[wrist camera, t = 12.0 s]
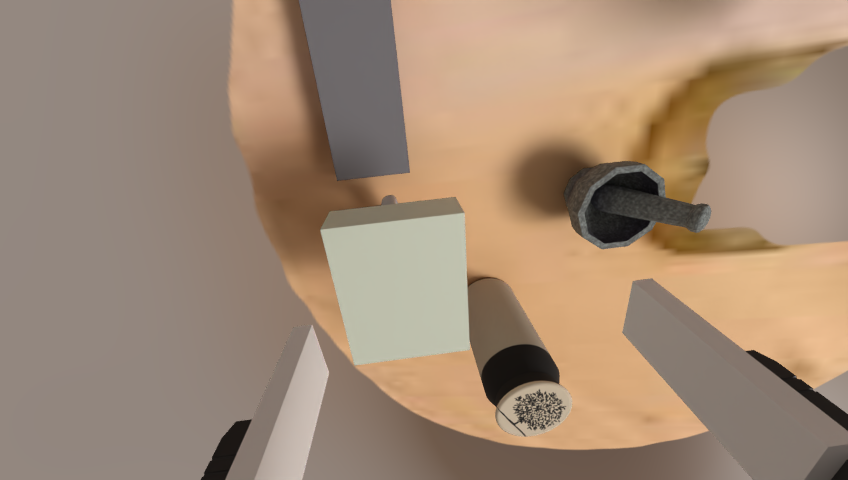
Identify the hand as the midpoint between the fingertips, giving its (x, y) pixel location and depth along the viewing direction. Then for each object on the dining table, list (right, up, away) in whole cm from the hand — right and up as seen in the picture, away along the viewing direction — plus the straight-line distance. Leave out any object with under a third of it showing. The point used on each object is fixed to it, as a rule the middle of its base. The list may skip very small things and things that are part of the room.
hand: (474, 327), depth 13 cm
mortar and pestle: (+19, +10, +28) cm, 35 cm away
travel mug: (+7, -5, +34) cm, 35 cm away
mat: (-9, +20, +20) cm, 30 cm away
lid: (-4, 0, +18) cm, 18 cm away
